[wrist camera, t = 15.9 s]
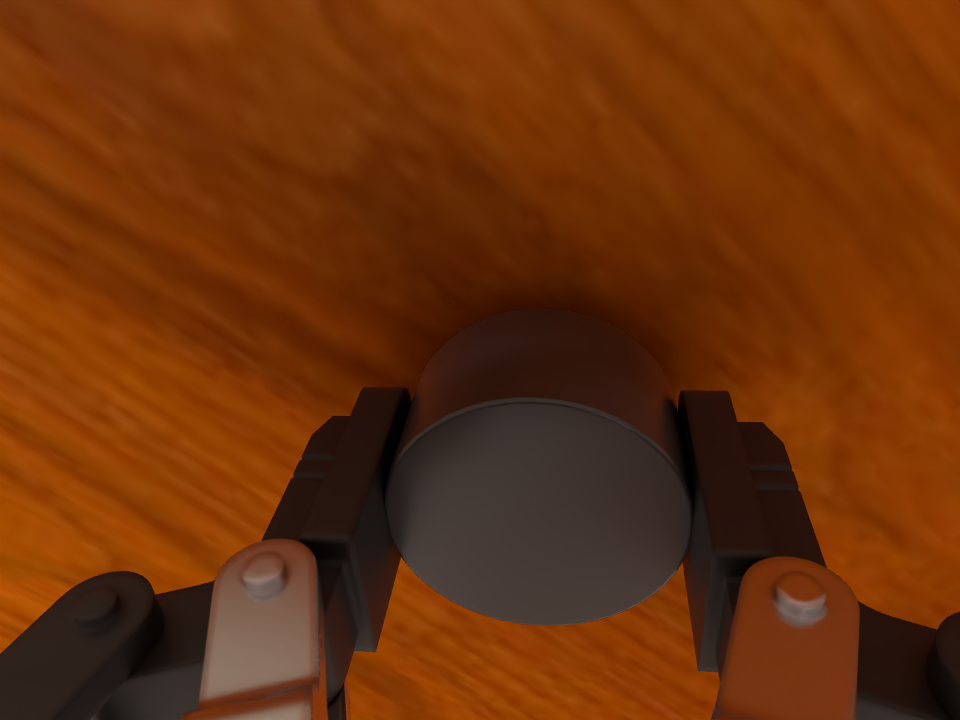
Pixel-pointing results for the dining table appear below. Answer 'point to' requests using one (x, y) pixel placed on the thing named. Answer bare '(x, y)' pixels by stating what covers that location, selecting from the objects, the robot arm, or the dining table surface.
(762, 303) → the dining table surface
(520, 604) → the dot
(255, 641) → the robot arm
